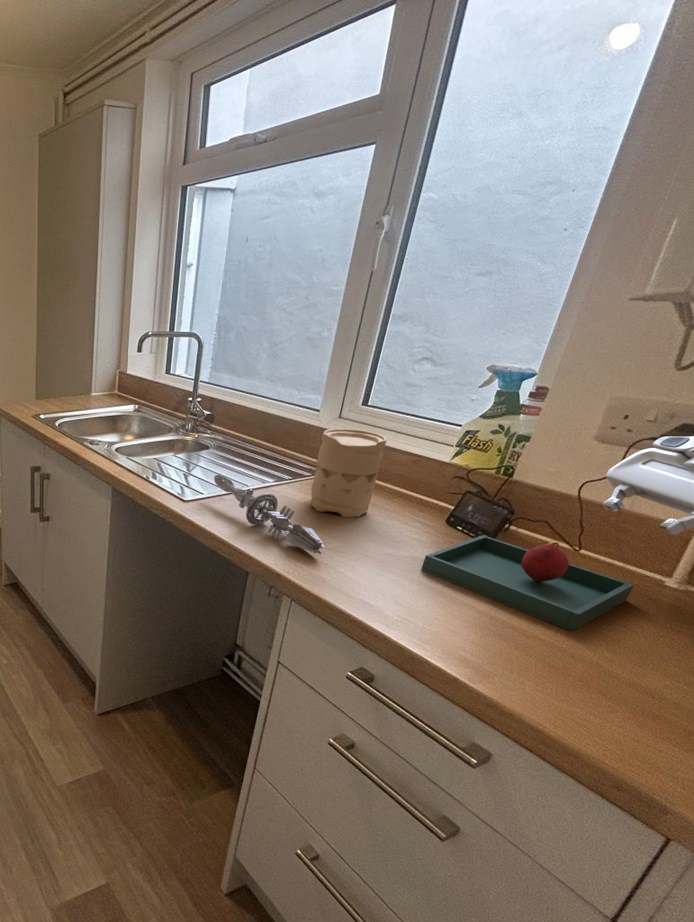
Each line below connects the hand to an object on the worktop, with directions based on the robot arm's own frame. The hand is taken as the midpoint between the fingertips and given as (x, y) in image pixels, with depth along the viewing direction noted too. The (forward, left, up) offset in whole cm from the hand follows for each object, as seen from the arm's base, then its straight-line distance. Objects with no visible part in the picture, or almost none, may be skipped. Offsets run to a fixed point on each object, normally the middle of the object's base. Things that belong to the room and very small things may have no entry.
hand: (635, 518), depth 88 cm
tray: (+7, +12, -13) cm, 19 cm away
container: (+45, +7, -13) cm, 48 cm away
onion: (+6, +10, -13) cm, 17 cm away
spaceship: (+46, +33, -13) cm, 58 cm away
